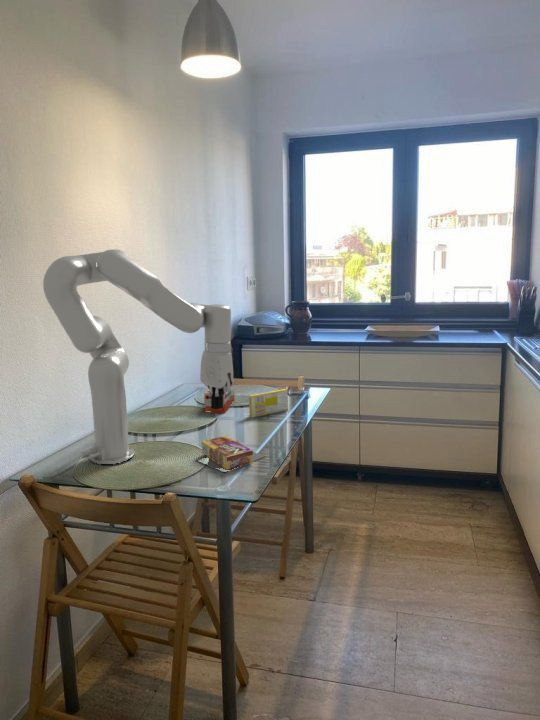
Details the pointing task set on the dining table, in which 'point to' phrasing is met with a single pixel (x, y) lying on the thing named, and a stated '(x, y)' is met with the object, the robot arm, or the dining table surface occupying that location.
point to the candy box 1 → (227, 452)
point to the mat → (255, 458)
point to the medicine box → (227, 401)
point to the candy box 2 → (268, 402)
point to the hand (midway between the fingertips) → (217, 408)
